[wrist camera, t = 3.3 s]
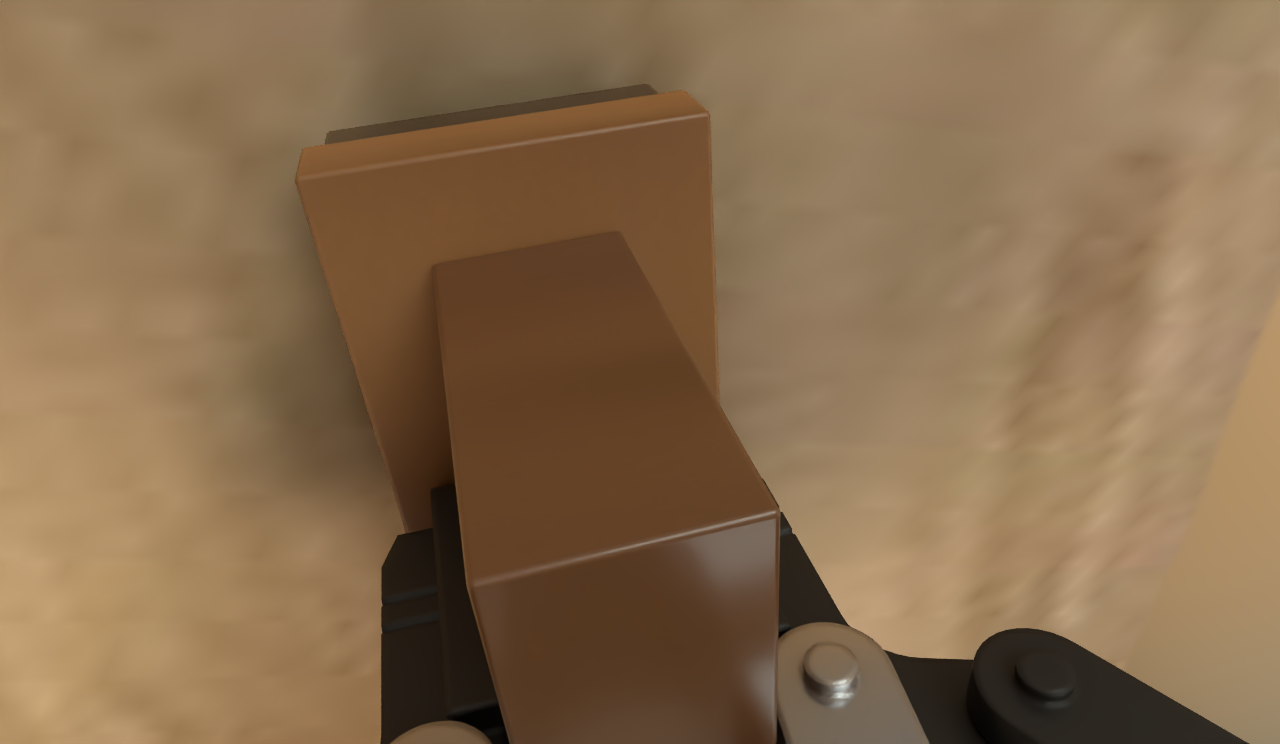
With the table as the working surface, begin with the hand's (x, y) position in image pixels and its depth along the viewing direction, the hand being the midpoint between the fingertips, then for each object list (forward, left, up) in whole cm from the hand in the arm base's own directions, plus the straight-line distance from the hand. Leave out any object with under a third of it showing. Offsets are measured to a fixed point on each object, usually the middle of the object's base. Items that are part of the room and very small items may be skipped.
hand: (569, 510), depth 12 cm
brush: (0, 0, -2) cm, 2 cm away
